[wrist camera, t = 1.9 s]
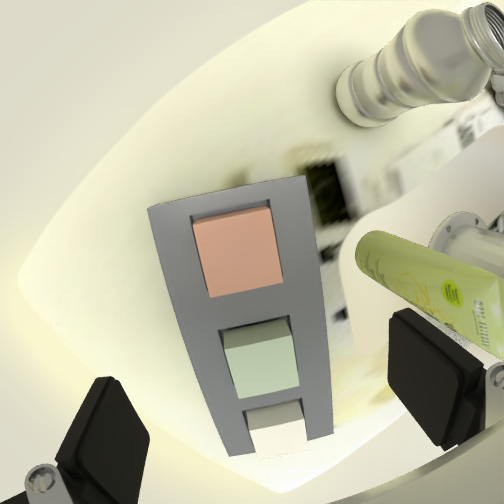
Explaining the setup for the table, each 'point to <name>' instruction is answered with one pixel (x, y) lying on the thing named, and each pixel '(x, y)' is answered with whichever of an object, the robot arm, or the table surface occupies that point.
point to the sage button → (261, 358)
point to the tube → (438, 287)
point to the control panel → (249, 304)
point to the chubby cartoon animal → (498, 86)
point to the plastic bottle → (425, 65)
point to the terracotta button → (238, 251)
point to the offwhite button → (277, 429)
